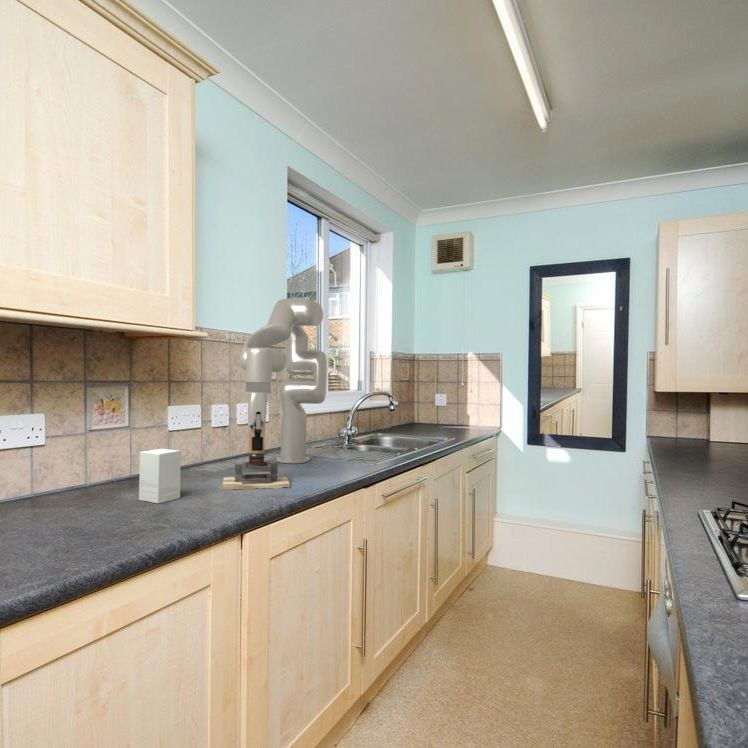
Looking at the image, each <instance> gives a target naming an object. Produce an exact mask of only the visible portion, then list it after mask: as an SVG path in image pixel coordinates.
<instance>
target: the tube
mask: <svg viewBox="0 0 748 748" xmlns="http://www.w3.org/2000/svg"><path fill="white" fill-rule="evenodd" d="M254 426H256V425H255V424H254ZM260 426H261V425H260ZM265 431H266V425H265V426H264V427H263V430H262V437H263V450H262V451H252V437H253V425H251V426H250V427H249V440H248V441H249V442H248V443H249V444H248V445H249V447H248V462H249V464H254V465H258V464H264V462H265V457H266V456H265V436H266V434H265V433H266V432H265Z"/></svg>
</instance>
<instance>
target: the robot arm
mask: <svg viewBox="0 0 748 748" xmlns="http://www.w3.org/2000/svg"><path fill="white" fill-rule="evenodd" d="M323 310H324V309H323V307H322V305H321V304H320V303H319V302H316V301H314V300H312V299H308V298H282V299H280V300H277V302H276V303H275V305H274V307H273V310H272V311H271V314H270V315H269V316H270V317H269V319H268V321H267V323H266V325H264V326H262V327H261V328H259V329H258V330H256V331H254V332H253V333H251V334H250V335H249V336H248V337H247V339H246V340H245V342H244V345H243V347H242V349H241V352H240V356H239V365H240V367H241V368H242V370H244V371H245V394H248V402H247V403H248V406H247V426H248V427H249V428H250V426H251V425H253V437H252V451H262V450H263V437H262V430H263V427H264V426H265V427H266V422H267V421H266V419H267V406H268V405H267V404H268V403H267V402H268V394H269V395H270V394H272V375H273V374H272V373H279V372H281V371H283V370H284V369H285V371H286V372H287V373H288V374H290V375H301V376H303V375H305V376H313V378H304V377H302V378H301V377H289V378H285V379H283V380H282V381H281V383H280V386H279V394H280V395H279V396H280V403H281V421H280V422H281V425H280V426H281V427H280V433H281V434H280V456H277V457H275V458H276V459H275V460H276V462H277V463H282V464H303V463H304V464H305V463H309V462H310V459H311V458H310V457H309V456H306V455H307V453H306V452H307V422H308V421H307V420H308V419H307V418H308V417H307V412H306V410H305V408H304V407H303V406H302V404H307V405H309V404H311V405H312V404H313V405H315V404H316V405H317V404H319V405H320V404H323V402H324V401H325V399H326V397H327V396H326V395H327V375H328V374H327V373H328V372H327V371H328V360H327V355H326V354H325V352H324V351H321V350H318V349H317V350H316V349H315V350H314V349H309V335H308V334H307V332H306V331H305V329H304V328H303V327H304V326H306V327H308V326H309V327H313V326H314V327H315V326H316V327H318V326H320V324H321V323H322V321H323V319H324V311H323ZM302 326H303V327H302ZM283 342H285V352H284V351H283V350H282V349H279V348H269V347H272V346H275V345H277V344H280V343H283ZM254 424H255V425H256V426H254ZM260 425H261V426H260Z"/></svg>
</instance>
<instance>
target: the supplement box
mask: <svg viewBox="0 0 748 748" xmlns="http://www.w3.org/2000/svg"><path fill="white" fill-rule="evenodd" d="M181 456H182V451H181V450H177V449H169V448H168V449H167V448H155V449H151V450H150V449H149V450H144V451H139V473H138V474H139V478H138V479H139V482H138V483H139V484H138V485H139V486H138V500H139V501H142V502H143V501H144V502H148V503H154V504H162V503H166V502H170V501H174V500H176V499H177V500H178V499H180V498H181V461H182V460H181V459H182V457H181Z"/></svg>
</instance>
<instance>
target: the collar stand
mask: <svg viewBox="0 0 748 748" xmlns="http://www.w3.org/2000/svg"><path fill="white" fill-rule="evenodd" d="M278 465H279V464H278V462H277V463H276V462H275V463H274V462H273V463H272V462H271V461H264V464H258V465H254V464H249V461H242V462H241V463H235V464H234V468H235V469H234V476H225V477H223V481H222V491H234V490H233V489H245V490H256V489H255V488H274V489H283V488H282V487H290V488H291V484H290V481H289V479H288V477H287V475H278V473H279V472H278V469H279V466H278ZM264 472H265V473H264ZM266 472H267V473H266ZM268 472H269V473H268ZM244 473H245V474H244ZM247 473H248V474H247Z"/></svg>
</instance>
